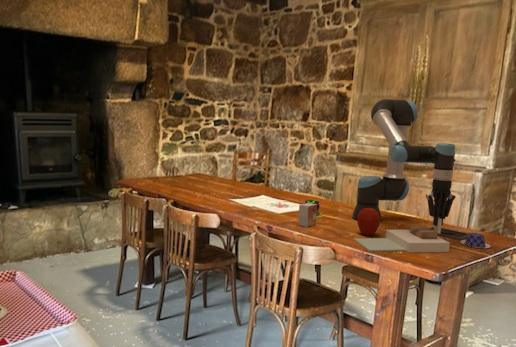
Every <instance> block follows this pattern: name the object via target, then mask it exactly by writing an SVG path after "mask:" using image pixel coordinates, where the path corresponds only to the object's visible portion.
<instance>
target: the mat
mask: <svg viewBox="0 0 516 347" xmlns="http://www.w3.org/2000/svg"><path fill="white" fill-rule="evenodd" d="M353 241H354V242H356V243H358V244H359V245H360V246H362V247H363V248H364V249H365V250H367V251H368V252H407V251H406V249H404V248H403V247H401V246H400V245H398V244H396V243H395V242H393V241H391V240H390V239H388V238H386V237H385V238H384V237H383V238H382V237H381V238H379V237H378V238H377V237H376V238H373V237H372V238H370V237H367V238H366V237H365V238H354V239H353Z"/></svg>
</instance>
